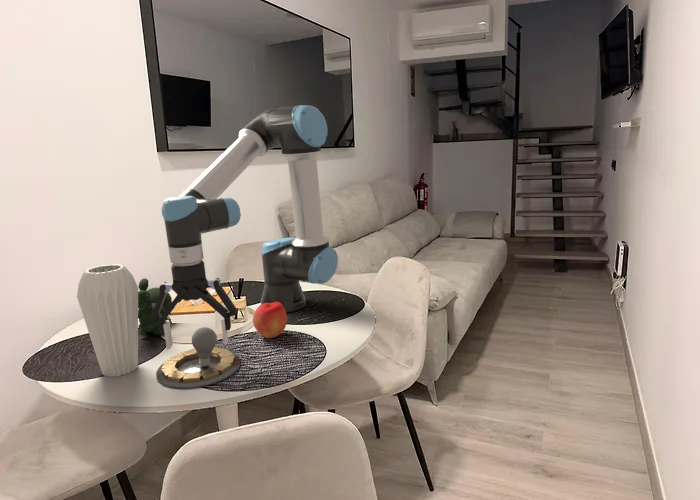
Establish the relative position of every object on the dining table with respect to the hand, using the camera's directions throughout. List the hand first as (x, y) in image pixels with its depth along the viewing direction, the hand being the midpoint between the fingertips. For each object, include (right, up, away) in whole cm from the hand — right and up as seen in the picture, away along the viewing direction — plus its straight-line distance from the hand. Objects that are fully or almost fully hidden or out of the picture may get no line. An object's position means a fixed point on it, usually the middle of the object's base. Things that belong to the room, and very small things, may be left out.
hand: (198, 344), depth 118 cm
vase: (-20, -7, +2) cm, 21 cm away
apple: (+15, -2, +19) cm, 24 cm away
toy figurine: (-22, -1, +29) cm, 37 cm away
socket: (0, -6, +1) cm, 6 cm away
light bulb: (+1, -5, +1) cm, 6 cm away
